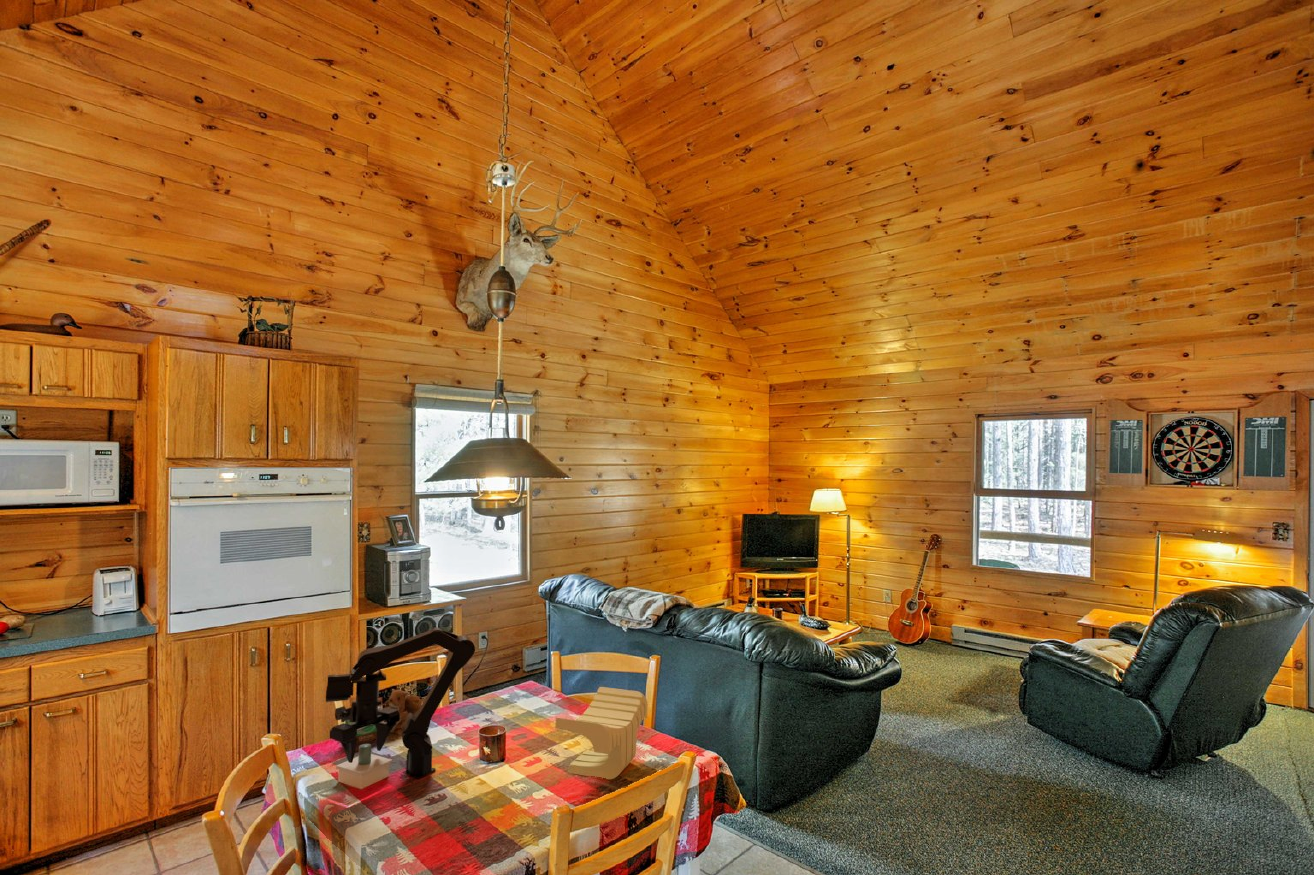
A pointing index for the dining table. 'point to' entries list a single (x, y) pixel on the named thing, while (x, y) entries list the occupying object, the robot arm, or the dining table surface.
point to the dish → (363, 777)
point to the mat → (355, 757)
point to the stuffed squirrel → (403, 707)
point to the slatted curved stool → (608, 732)
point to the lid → (364, 762)
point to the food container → (366, 732)
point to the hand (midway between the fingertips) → (364, 756)
